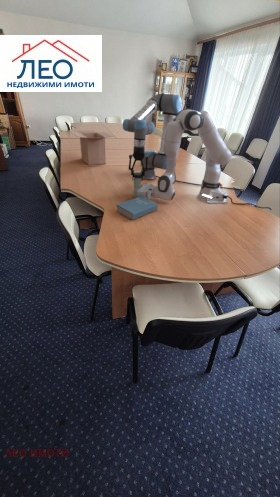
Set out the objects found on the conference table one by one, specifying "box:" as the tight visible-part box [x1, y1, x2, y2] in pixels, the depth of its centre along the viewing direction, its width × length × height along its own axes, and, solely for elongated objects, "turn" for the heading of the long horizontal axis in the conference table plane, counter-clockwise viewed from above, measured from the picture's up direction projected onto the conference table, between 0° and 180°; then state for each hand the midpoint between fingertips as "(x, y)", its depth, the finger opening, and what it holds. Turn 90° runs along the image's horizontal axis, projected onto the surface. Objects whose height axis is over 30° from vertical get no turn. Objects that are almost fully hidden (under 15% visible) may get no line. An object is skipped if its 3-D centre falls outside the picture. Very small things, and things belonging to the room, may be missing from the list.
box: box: [70, 129, 114, 166], centre depth 229 cm, size 44×36×27 cm
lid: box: [134, 171, 142, 178], centre depth 160 cm, size 6×6×2 cm
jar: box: [132, 178, 142, 198], centre depth 165 cm, size 5×5×16 cm
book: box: [116, 196, 159, 221], centre depth 148 cm, size 23×16×5 cm
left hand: (137, 179), depth 162 cm, fingers closed on lid, 6 cm apart
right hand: (135, 187), depth 166 cm, fingers closed on jar, 5 cm apart
